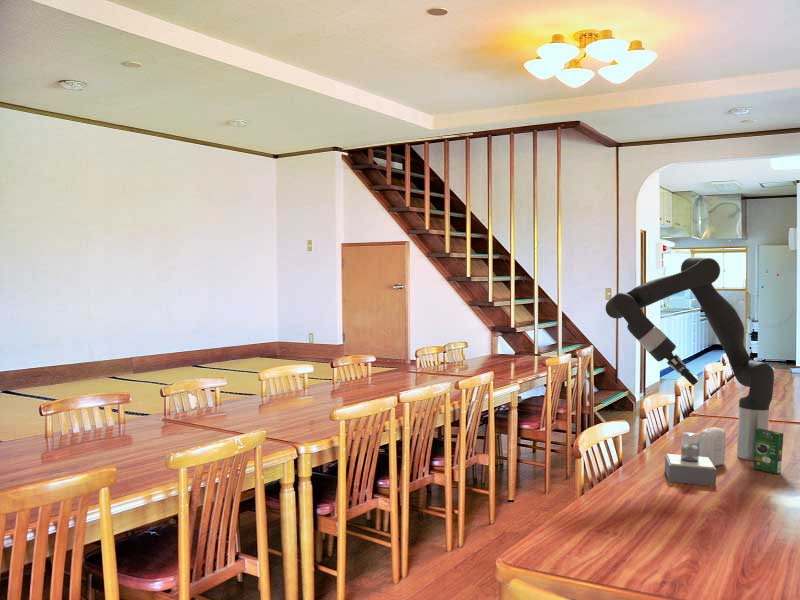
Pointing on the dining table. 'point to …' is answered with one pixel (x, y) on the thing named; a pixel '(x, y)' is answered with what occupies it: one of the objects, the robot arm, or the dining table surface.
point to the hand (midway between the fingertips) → (694, 381)
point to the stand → (690, 470)
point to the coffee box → (768, 451)
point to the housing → (690, 447)
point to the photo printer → (713, 445)
